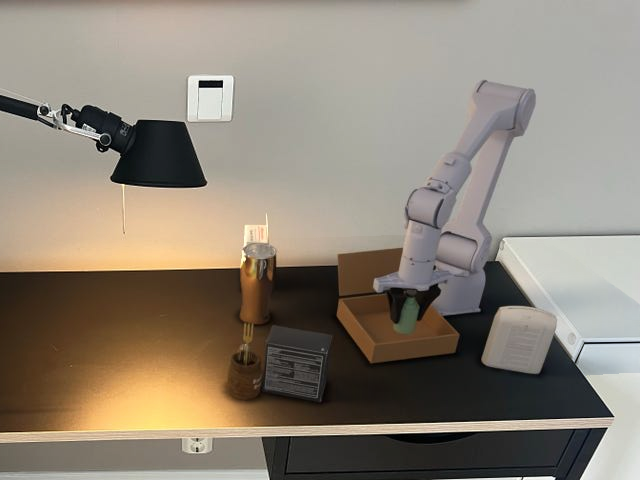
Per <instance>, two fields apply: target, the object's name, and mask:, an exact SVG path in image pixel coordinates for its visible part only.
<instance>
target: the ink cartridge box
mask: <svg viewBox="0 0 640 480" xmlns="http://www.w3.org/2000/svg"><path fill="white" fill-rule="evenodd" d="M268 217H269V216H268V212H266V213H265V219H266V220H265V221H266V224H245V225H244V236H243V237H244V239H243V240H244V241H243V248H244V247H245V246H246V245H248V244H252V243H264V244H268V245H270V234H269V229H270V228H269V218H268Z"/></svg>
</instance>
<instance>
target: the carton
mask: <svg viewBox="0 0 640 480" xmlns="http://www.w3.org/2000/svg"><path fill="white" fill-rule="evenodd" d="M414 290H415V291H416V289H414ZM405 292H406V290H404V294H405ZM415 298H416V297H415ZM337 305H338V306H337V310H336V317H337V319H338V320H339V322H340V323H341V324H342V326H343V327H344V328H345V330H346V331H347V333H348V334H349V335H350V337H351V338H352V339H353V341H354V342H355V343H356V345H357V347H358V348H359V349H360V350H361V352H362V353H363V354H364V356H365V357H366V358H367V360H368V361H369V362H370V364H376V363H384V362H393V361H400V360H408V359H415V358H425V357H430V356H431V357H432V356H438V355H448V354H454V353H456V351H457V346H458V341H459V339H460V333H459V332H458V331H457V330H456V329H455V328H454V327H453V326H452V325H451V324H450V323H449V322H448V321H447V319H445V317H444V316H442V315H441V314H440V313H439V312H438V311H437V310H436V309H435V308H434V307H433V306H432V305H430V306H429V307H428V309H427V310H426V312H425V314H424V316H423V318H422V319H421V321H417V322H416V326H415V331H414V332H413V333H411V334H401V333H398V332H396V331H395V330H394V329H393V321H392V320H391V319H390V307H389V302H388V298H387V295H386V293H377V294H369V295H361V296H360V295H359V296H351V297H343V298H339V299H338V304H337Z"/></svg>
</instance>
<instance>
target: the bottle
mask: <svg viewBox="0 0 640 480" xmlns="http://www.w3.org/2000/svg"><path fill="white" fill-rule="evenodd" d="M415 290H416V289H405V291H406V292H405V295H406V297H407V300H406V301H405V303H404V306H403V308H402V311H401V316H400V320H399V323H398V324H394V323H393V329H394V330H395V331H396V332H398V333H401V334H411V333H413V332H414V331H415V326H416V322H417V317H418V313H419V308H420V306H419V304H418V303H417V301H416V300H415V297H416V295H417V292H416V291H415Z"/></svg>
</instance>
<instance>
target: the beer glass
mask: <svg viewBox="0 0 640 480" xmlns="http://www.w3.org/2000/svg"><path fill="white" fill-rule="evenodd" d="M277 252H278V250H277V248H275V246H273V245H271V244H269V245H268V244H264V243H252V244H248V245H246V246H245V247H244V246H243V248H242V253H241V259H240V266H239V267H240V268H239V278H240V288H241V295H242V303H241V308H240V313H239V318H240V320H241V321H242V322H244V324H245V323H246V324H247V325H248V324H250V325H252V324H253V326H255V325H256V326H258V325H263V324H266V323H267V322H269V320H270V318H271V313H270V299H271V295H272V292H273V289H274V284H275V280H276V274H277V262H278V261H277V258H278V257H277V254H278V253H277Z"/></svg>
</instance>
